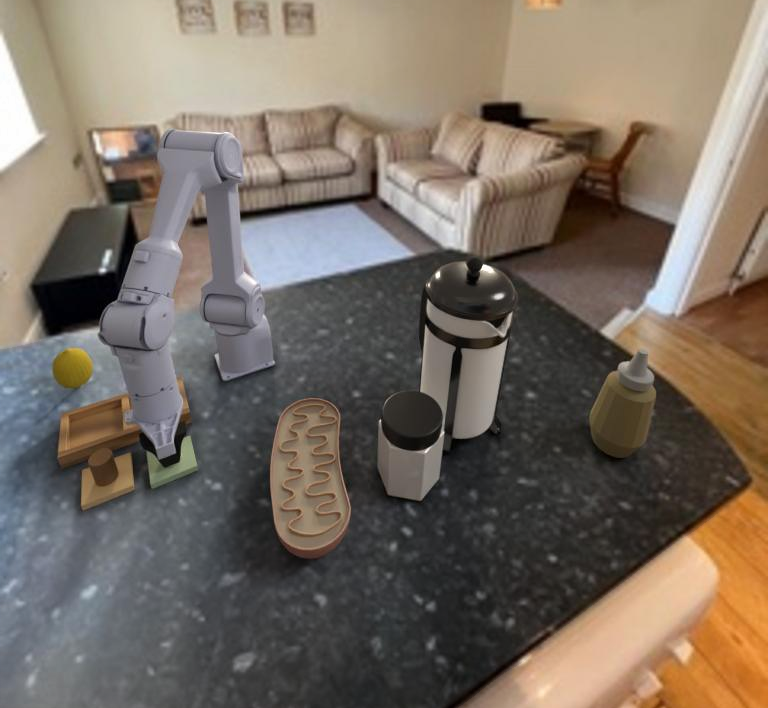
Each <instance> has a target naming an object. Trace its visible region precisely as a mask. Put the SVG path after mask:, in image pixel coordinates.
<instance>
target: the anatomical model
mask: <svg viewBox="0 0 768 708" xmlns="http://www.w3.org/2000/svg"><path fill="white" fill-rule="evenodd" d="M340 429H341V413H340V411H339V409H338V408H337V407H336V406H335V404H333V403H332V402H330V401H328V400H326V399H323V398H319V397H318V398H316V397H315V398H314V397H309V398H304V399H300V400H297V401H295V402H293V403H291V404H290V405H288V406H287V407H286V408H285V409H284V410H283V412H282V413H281V414H280V416H279V419H278V422H277V425H276V429H275V434H274V438H273V443H272V450H271V455H270V456H271V457H270V465H269V466H270V469H269V470H270V471H269V485H270V487H269V488H270V500H271V507H272V517H273V523H274V528H275V531H276V534H277V536H278V540H279V541H280V543H281V545H282V546H283V547H284V548H285V549H286V550H287V551H288V553H291V554H292V555H293V556H296V557H298V558H301V559H307V560H313V559H318V558H322V557H323V556H326V555H328V554H330V553H331V552H332V551H334V550H335V549H336V548H337V547H338V545H339V544H340V543H341V542H342V541H343V538H344V537H345V535H346V534H347V531H348V528H349V524H350V521H351V516H352V515H351V514H352V508H351V507H352V506H351V502H350V498H349V495H348V492H347V488H346V485H345V481H344V476H343V473H342V472H343V471H342V467H341V458H340V431H341V430H340Z"/></svg>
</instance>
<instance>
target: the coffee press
mask: <svg viewBox="0 0 768 708" xmlns="http://www.w3.org/2000/svg"><path fill="white" fill-rule="evenodd" d="M420 297H421V298H420V308H419V309H420V310H419V322H418V323H419V324H418V340H419V341H418V342H419V347H420V351H421V359H420V360H421V361H420V375H419V385H418V391H419V392H422V393H425V394H427V395H429V396H431V397H432V398H433V399H435V400H436V402H437V403H438V404H439V405H440V407H441V409H442V413H443V420H442V429H443V430H444V441H443V450H442V453H445V454H447V455H448V454H449V455H450V453H451V448H452V443H453V439H459V440H463V439H464V440H466V439H472V438H475V437H478V436H481V435H482V434H483V433H485V432H486V431H487V430H489V431H490V432H491V433H492V434H493V435H500V434H501V433H502V427H503V424H502V423H501V421H500V419H499V418H498V416H497V412H498V405H499V399H500V393H501V387H502V381H503V375H504V371H505V366H506V360H507V354H508V349H509V345H510V344H509V343H510V337H511V332H512V327H513V320H514V317H513V312H514V310H515V309H516V307H517V306H518V300H519V294H518V291H517V290H516V288H515V286H514V283H513V282H512V280H511V279H510V277H509V276H508V275H507V274H506V273H504V272H503V271H501V270H500V269H498V268H496V267H495V266H491V265H489V264H486V263H484V262H483V260H482V258H480V257H479V256H477V255H473V256H470V257H469V258H468V259H467V260H466V261H463V260H461V261H454V262H451V263H447V264H445V265H442V266H440V267H439V268H438V269H436V270H435V272H434V273H433V274H432V275H431V276H430V277H429V278H428V280H427V281H426V284H424V286H423V288H422V292H421V296H420ZM493 421H494V424H495V425H494V424H493Z"/></svg>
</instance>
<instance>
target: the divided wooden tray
mask: <svg viewBox="0 0 768 708" xmlns="http://www.w3.org/2000/svg"><path fill="white" fill-rule="evenodd" d="M176 379H177V383H178V388H179V392H180V394H181V396H182V398H183V409H182V412H181V416H180V419H179V422H182V421H186V425H189V424H191V423H193V420H192V416H191V415H192V414H191V411H190V407H189V403H188V398H187V394H186V391H185V386H184V382H183V378H182V376H176ZM132 409H133V408H132V405H131V401H130V398H129V394H128V392H125V393H123V394H119V395H115V396H113V397H112V396H111V397H109V398H106V399H102V400H100V401H97V402H93V403H90V404H87V405H84V406H80V407H78V408H74V409H70V410H68V411H64V412H62V413H60V424H59V433H58V434H59V435H58V447H57V456H56V457H57V462H58V463H59V466H60V468H61V470H63V469H67V468H69V467H73V466H75V465H78V464H80V463H83V462H86V461H88V459H89V457H90V456H91V455H92V454H93V453H94V452H96V451H98V450H100V449H104V448H107V449H110V450H111V451H112V452H114V451H116V450H119V449H122V448H125V447H127V446H131V445H133V444H136V443H140V439H139V434H140V433H143V431H142V430H141V429H140V428H139V426H138V425H137V424H131V425H126V423H125V418H124V414H125V412H127V411H129V410H132ZM179 422H178V423H179Z"/></svg>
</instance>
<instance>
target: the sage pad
mask: <svg viewBox="0 0 768 708" xmlns="http://www.w3.org/2000/svg"><path fill="white" fill-rule="evenodd" d="M146 460H147V468H148V476H149V477H148V478H149V485H150V489H151V490H154V489H156V488H158V487H160V486H164V485H166V484H168V483H170V482H173V481H175V480H178V479H180V478H183V477H186V476H188V475H190V474H192V473H195V472H197V471H199V468H198V464H197V459H196V455H195V451H194V446H193V442H192V437H191V435H188V436H187V435H186V436H185V437H184V439H183V441H182V445H181V458H180V462H179V463H176V464H174V465H171V466H169V467H166V468H164V467H163V466H162V465H161V463H160V462H159V461H158V459H157V458H156V457H155V455H153V454H152V453H151V452H149V451H146Z"/></svg>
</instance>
